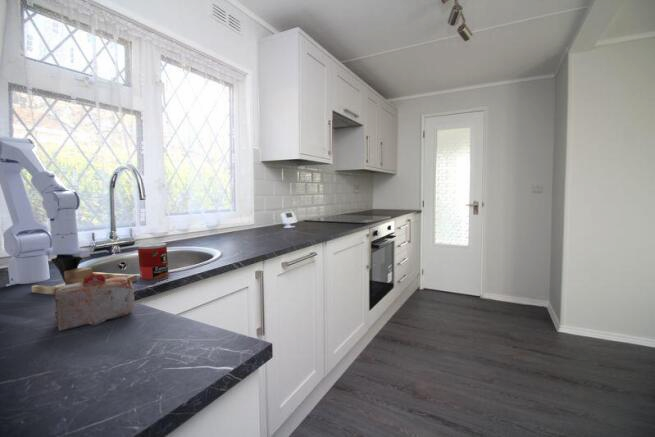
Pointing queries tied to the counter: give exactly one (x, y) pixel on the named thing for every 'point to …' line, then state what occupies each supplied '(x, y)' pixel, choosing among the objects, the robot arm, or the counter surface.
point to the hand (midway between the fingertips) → (69, 280)
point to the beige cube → (77, 275)
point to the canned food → (153, 260)
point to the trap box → (51, 289)
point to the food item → (93, 301)
